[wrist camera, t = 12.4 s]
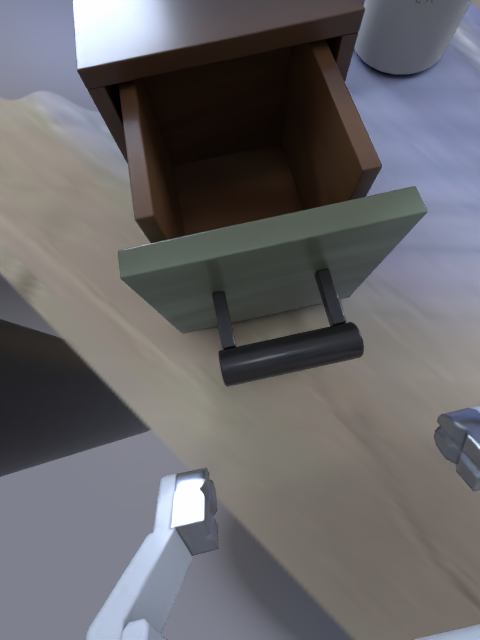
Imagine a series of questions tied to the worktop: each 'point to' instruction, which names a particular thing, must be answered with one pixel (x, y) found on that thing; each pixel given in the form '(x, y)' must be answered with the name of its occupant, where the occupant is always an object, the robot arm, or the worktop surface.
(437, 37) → the travel mug
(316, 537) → the worktop surface
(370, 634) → the worktop surface
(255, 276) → the drawer
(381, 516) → the worktop surface
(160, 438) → the worktop surface
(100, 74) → the storage box
